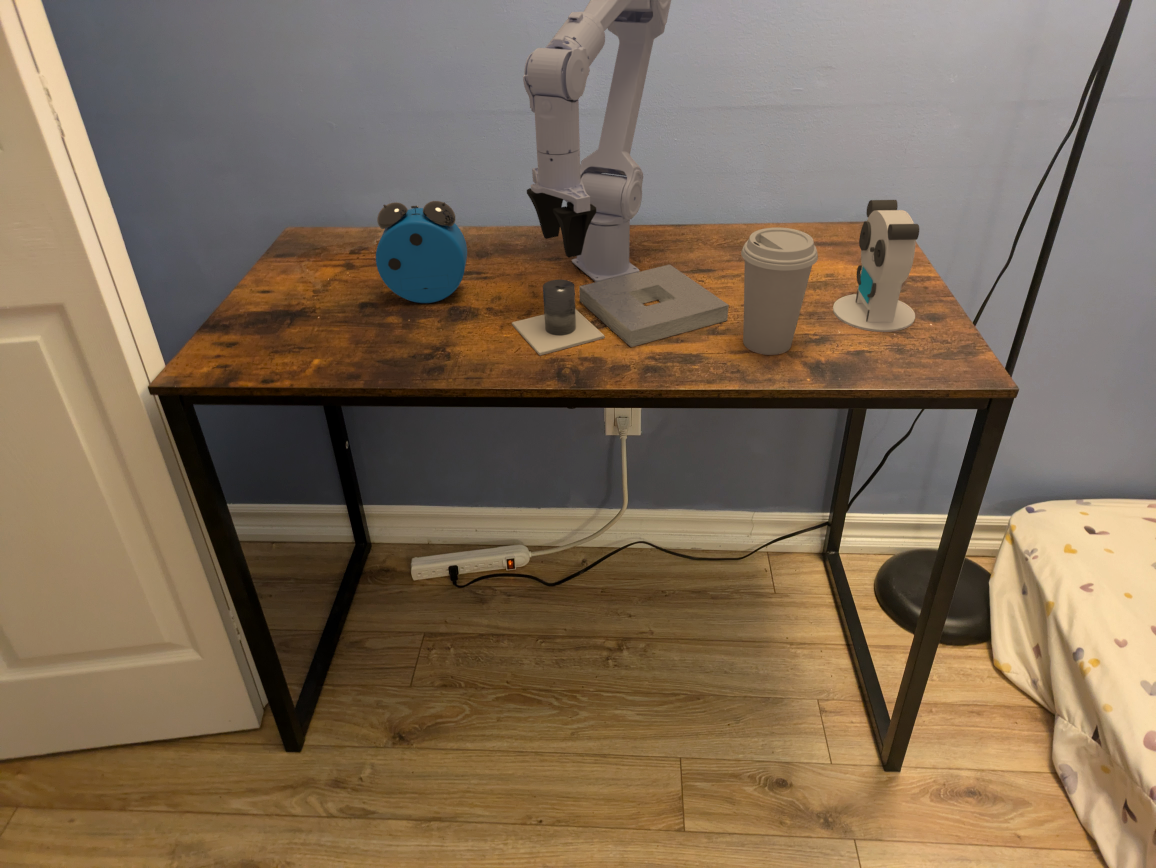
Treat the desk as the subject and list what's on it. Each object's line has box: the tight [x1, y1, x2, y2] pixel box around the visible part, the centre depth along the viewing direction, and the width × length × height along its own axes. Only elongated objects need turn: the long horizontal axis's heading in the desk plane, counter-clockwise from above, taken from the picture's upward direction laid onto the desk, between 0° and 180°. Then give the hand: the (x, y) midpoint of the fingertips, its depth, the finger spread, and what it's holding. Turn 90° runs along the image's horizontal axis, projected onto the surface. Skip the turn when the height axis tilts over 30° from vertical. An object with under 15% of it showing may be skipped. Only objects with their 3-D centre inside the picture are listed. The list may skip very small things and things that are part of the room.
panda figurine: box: [832, 199, 920, 333], centre depth 107 cm, size 12×11×15 cm
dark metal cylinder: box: [542, 279, 576, 335], centre depth 107 cm, size 4×4×6 cm
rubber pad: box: [511, 308, 606, 356], centre depth 109 cm, size 10×10×1 cm
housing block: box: [578, 264, 730, 348], centre depth 113 cm, size 16×16×2 cm
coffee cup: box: [740, 227, 819, 356], centre depth 101 cm, size 10×10×15 cm
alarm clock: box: [375, 200, 468, 304], centre depth 115 cm, size 13×6×15 cm, turn 92°
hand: (562, 245), depth 109 cm, fingers open, 7 cm apart
